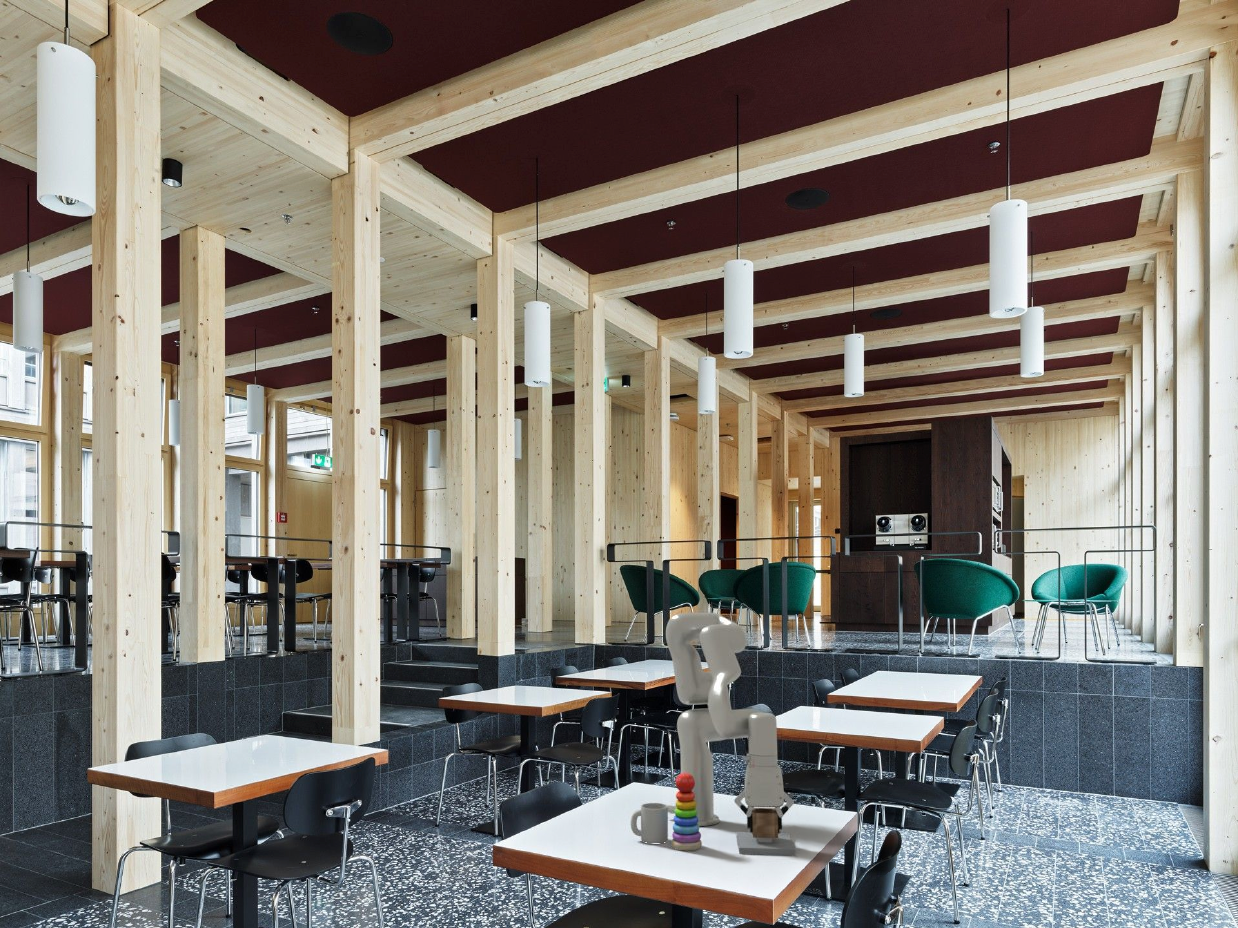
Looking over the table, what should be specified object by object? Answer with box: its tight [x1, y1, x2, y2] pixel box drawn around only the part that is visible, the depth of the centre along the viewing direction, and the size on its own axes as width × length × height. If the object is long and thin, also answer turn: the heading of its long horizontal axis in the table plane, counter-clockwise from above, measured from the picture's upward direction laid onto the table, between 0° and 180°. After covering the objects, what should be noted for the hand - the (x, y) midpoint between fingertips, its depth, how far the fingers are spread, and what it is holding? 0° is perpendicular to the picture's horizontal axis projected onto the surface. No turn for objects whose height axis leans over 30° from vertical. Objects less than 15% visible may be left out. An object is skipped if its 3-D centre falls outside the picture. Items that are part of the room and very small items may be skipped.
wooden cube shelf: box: [752, 807, 778, 838], centre depth 228 cm, size 6×6×6 cm
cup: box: [630, 802, 669, 844], centre depth 232 cm, size 7×10×9 cm
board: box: [735, 831, 796, 856], centre depth 227 cm, size 14×15×5 cm
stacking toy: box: [671, 772, 703, 851], centre depth 227 cm, size 8×8×19 cm
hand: (764, 830), depth 227 cm, fingers closed on wooden cube shelf, 6 cm apart
